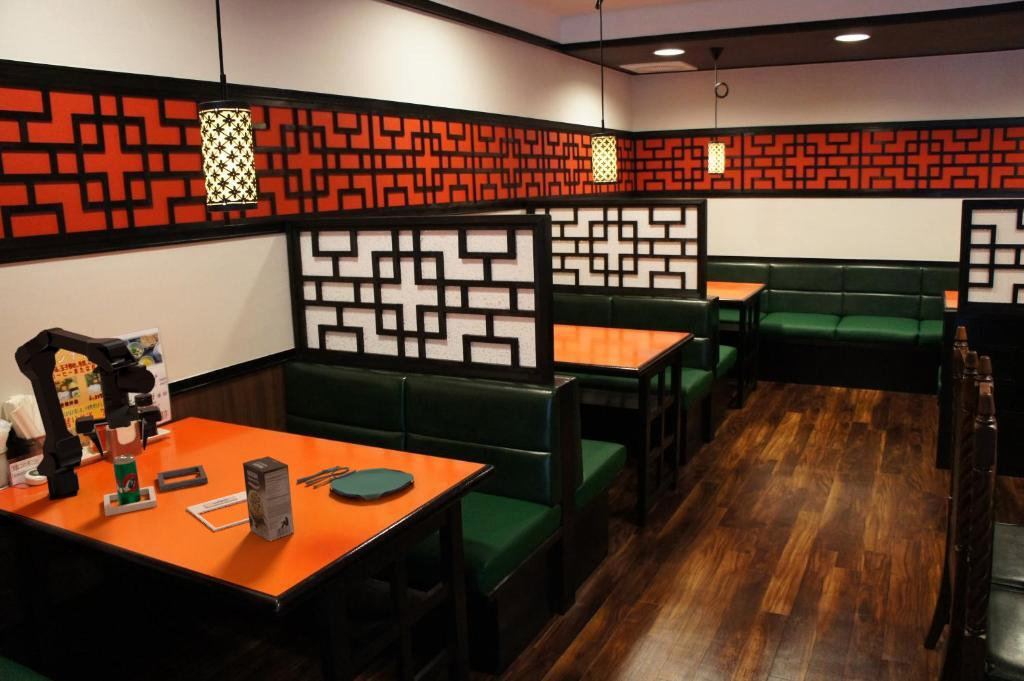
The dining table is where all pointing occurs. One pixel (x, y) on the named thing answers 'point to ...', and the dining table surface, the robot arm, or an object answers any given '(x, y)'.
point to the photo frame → (218, 504)
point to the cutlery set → (364, 481)
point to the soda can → (126, 479)
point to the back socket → (184, 483)
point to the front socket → (132, 506)
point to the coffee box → (268, 498)
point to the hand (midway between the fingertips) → (123, 453)
